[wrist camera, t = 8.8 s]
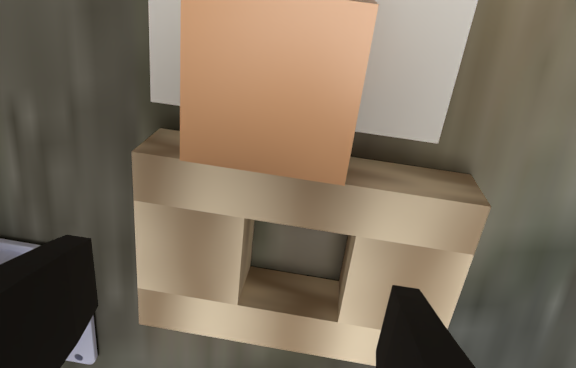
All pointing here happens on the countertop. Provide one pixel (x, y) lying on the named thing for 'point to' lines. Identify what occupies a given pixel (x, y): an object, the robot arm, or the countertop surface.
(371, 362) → the beige holed block
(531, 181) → the countertop surface
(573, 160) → the countertop surface
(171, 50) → the mat
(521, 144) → the countertop surface
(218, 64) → the plug
